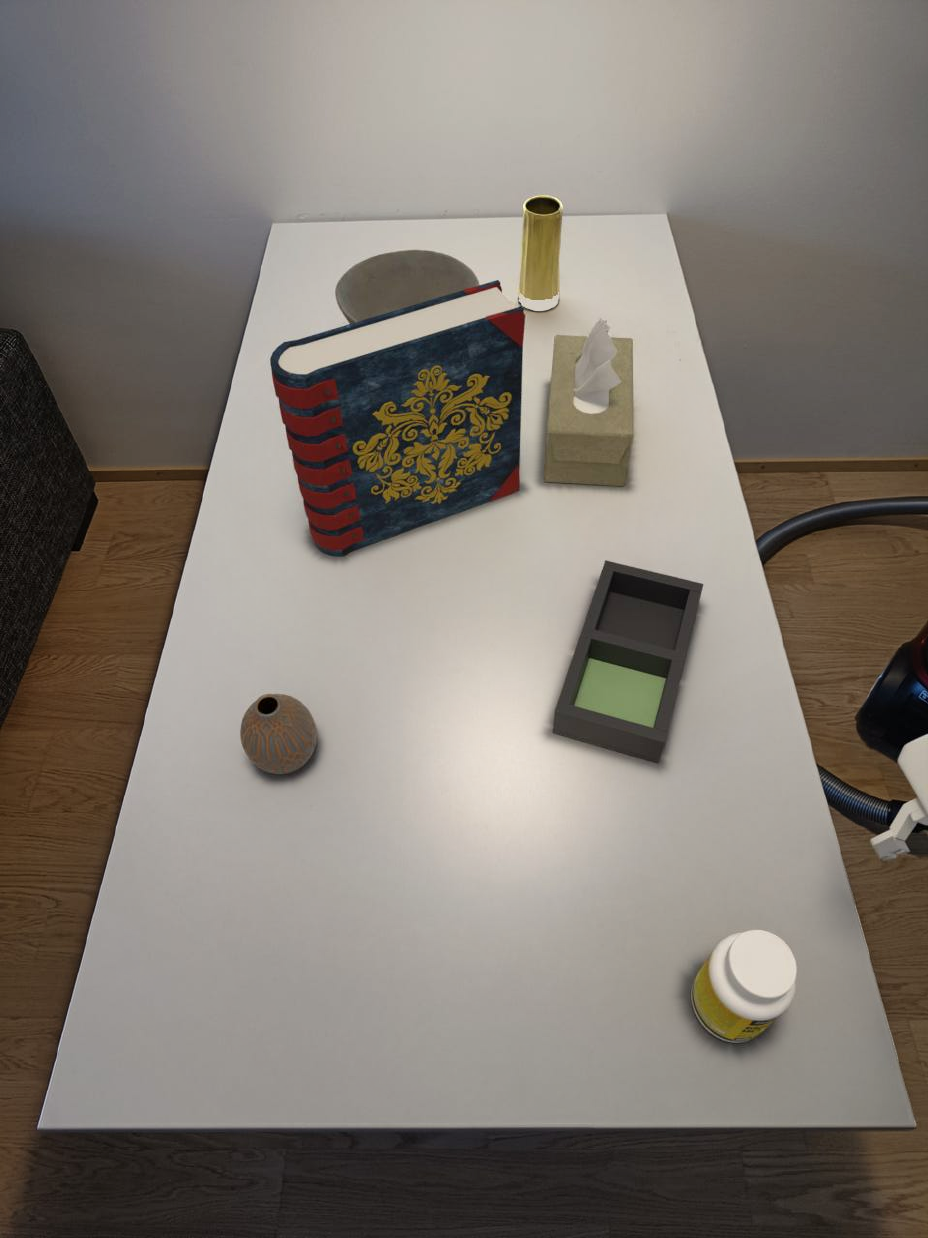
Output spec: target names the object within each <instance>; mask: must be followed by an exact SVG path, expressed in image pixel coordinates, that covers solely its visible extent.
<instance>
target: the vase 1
mask: <svg viewBox="0 0 928 1238" xmlns="http://www.w3.org/2000/svg"><path fill="white" fill-rule="evenodd" d="M239 735H240V743H241V746H242V748H243V751H244V753H245V754H246V756H247V758H248V760H250V762H251V763H252V764H253V765H255V766H256V767H257V768H259V769H260V770H262V771H264V772H266V773H270V774H276V775H283V774H284V775H285V774H289V773H292V772H294V771H297V770H299V769H300V768H302V767H303V766H304V765H305V764H306V763H307V762H308V761H309V759H311V756H312V755H313V753H314V751H315V748H316V745H317V739H318V733H317V726H316V722H315V719H314V716H313V715H312V713H311V711H310V710H309V708H307V707H306V705H305V704H304V703H303V702H302V701H300V700H299V699H297V698H295V697H293V696H291V695H289V694H284V693H266V694H262V695H261V696H259V697H258V698H257V699H256V700H255V701H253V703H251V704H250V705H249V706H248V708H247V710H246V711H245V713H244V714H243V717H242V720H241V723H240V734H239Z"/></svg>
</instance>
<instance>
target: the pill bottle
mask: <svg viewBox="0 0 928 1238" xmlns="http://www.w3.org/2000/svg"><path fill="white" fill-rule="evenodd" d="M797 973H798V968H797V961H796V958H795V955H794V954H793V951H792V950H791V948H790V947H789V946H788V944H787V943H786V942H785V941H784V940H783V939H782V938H781V937H779V936H777V935H776V934H774V933H773V932H771V931H767V930H762V929H750V930H747V931H742V932H735V933H733V934H730V935H727V936H726V937H725V938H723V939H722V940H721V941H719V942H718V944H717V945H716V946H715V947H714V949H713V950H712V952H711V953H710V955H709V956H708V958H707V959H706V960H705V962H704V963H703V965H702V966H701V968H700V969H699V971H698V972H697V974H696V975H695V977H694V980H693V983H692V986H691V990H690V991H691V992H690V998H691V1005H692V1008H693V1011H694V1014H695V1016H696V1019H698V1021H699V1023H700V1024H701V1025H702V1027H703V1028H704V1029H705V1030H706V1031H707V1032H709V1033H710V1034H711V1035H713V1037H716V1038H717V1039H719V1040H721V1041H723V1042H728V1043H736V1044H738V1043H740V1044H741V1043H745V1042H749V1041H752V1040H753V1039H755V1038H757V1037H758V1036H760V1035H761V1034H762V1033H763V1032H764V1031H765V1030H766V1029H767V1028H768V1027H770V1026H771V1025H772V1024H773V1023H774V1022H775V1021H776V1020H777V1019H778V1018H780V1017H781V1015H783V1014H784V1013H785V1012H786V1011H787V1010H788V1009H789V1007H790V1005H791V1004H792V1002H793V1000H794V997H795V995H796V989H797V975H798V974H797Z"/></svg>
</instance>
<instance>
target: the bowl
mask: <svg viewBox="0 0 928 1238" xmlns="http://www.w3.org/2000/svg"><path fill="white" fill-rule="evenodd" d="M479 285H480V281H479V278H478V277H477V275H476V274H475V272H474V271H473V269H472V268H470V267H469V266H468V265H467V264H465V263H464V262H463V261H461V260H459V259H458V258H455V257H453V256H451V255H449V254H446V253H443V252H439V251H438V252H437V251H434V250H426V249H405V250H398V251H397V250H396V251H390V252H385V253H380V254H377V255H374V256H371V257H368V258H366V259H363V260H362V261H360V262H358V263H356V264H354V265H352V267H350V268H349V269H348V270H347V271H345V273H343V274H342V276H341V277H340V278H339V279H338V281H337V283H336V285H335V289H334V291H335V292H334V294H335V300H336V303H337V306H338V308H339V310H340V312H341V313H342V315H343V316H344V318H345V319H346V320H347V322H348V323H349V324H352V323H355V322H358V321H362V320H365V319H369V318H372V317H375V316H379V315H382V314H385V313H389V312H392V311H395V310H399V309H402V308H405V307H409V306H412V305H415V304H419V303H422V302H425V301H429V300H432V299H436V298H439V297H442V296H446V295H449V294H452V293H456V292H459V291H462V290H464V289H467V288H471V287H475V286H479Z"/></svg>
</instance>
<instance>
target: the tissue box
mask: <svg viewBox="0 0 928 1238" xmlns="http://www.w3.org/2000/svg"><path fill="white" fill-rule="evenodd" d="M607 323H608V319H607V320H606V319H605V320H604V319H603V318H601V317H599V319H598V320H597V322H596V323H595V324H594V325H593V326H592V328H591V329H590V330H589V332H588V334H587V336H586V335H567V334H565V335H563V334H555V335H554V337H553V349H552V350H553V351H552V363H551V374H550V387H549V399H548V412H547V425H546V439H545V455H544V456H545V457H544V470H543V471H544V473H543V481H544V482H547V483H561V484H562V483H563V484H579V485H580V484H581V485H599V486H615V487H617V486H618V487H624V486H626V485H627V478H628V474H629V473H628V472H629V465H630V460H631V454H632V449H633V442H634V435H635V434H634V340H633V338H632V337H614V336H613V337H612V336H610V334H609V332H610V329H611V326H610V325H609V324H607Z"/></svg>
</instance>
